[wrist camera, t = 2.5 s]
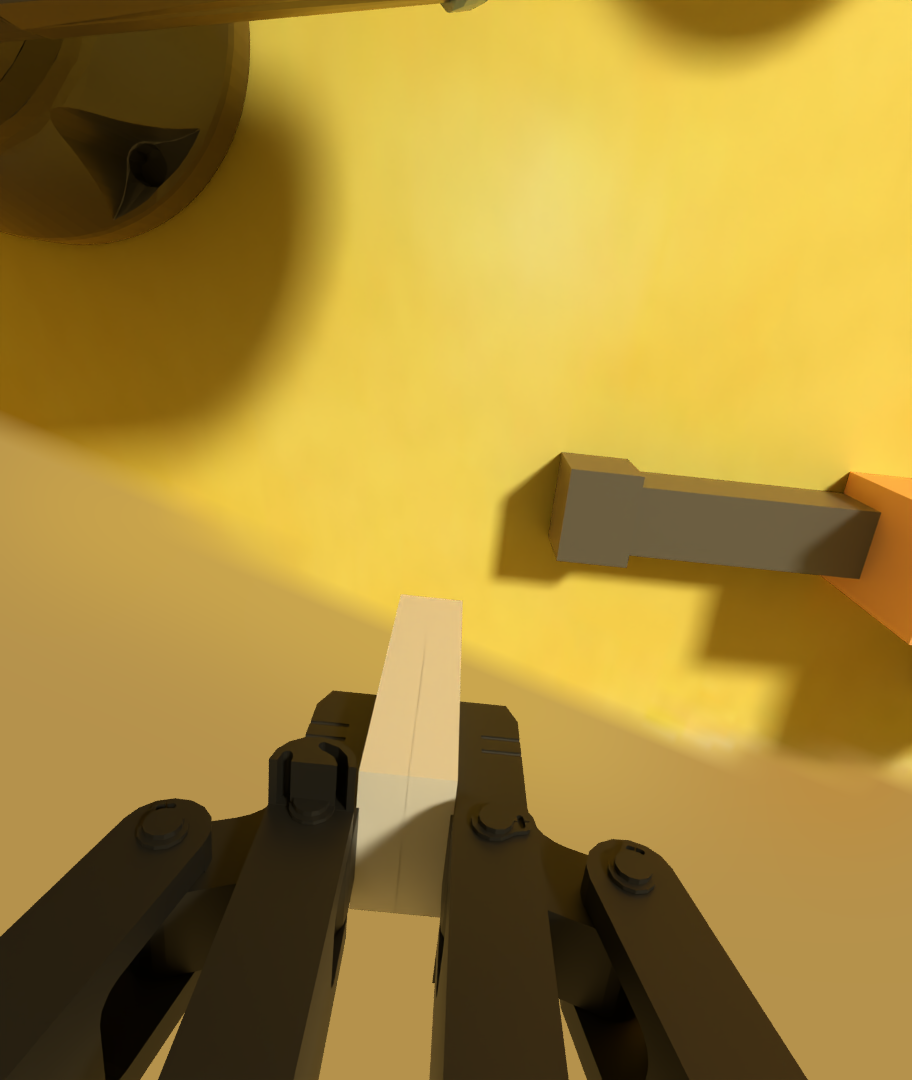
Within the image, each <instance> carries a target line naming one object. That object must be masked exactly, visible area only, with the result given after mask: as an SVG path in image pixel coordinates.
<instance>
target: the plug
mask: <svg viewBox="0 0 912 1080" xmlns="http://www.w3.org/2000/svg"><path fill="white" fill-rule="evenodd" d="M548 536H549V539H550V542H551V545H552V548H553V551H554V554H555V557H556V560H557V561H565V562H575V563H584V564H594V565H604V566H613V567H623V568H627V564H628V559H629V555H630V556H640V557H649V558H659V559H669V560H678V561H688V562H698V563H707V564H717V565H726V566H736V567H746V568H755V569H765V570H775V571H784V572H794V573H803V574H813V575H821V576H822V577H823V578H824V579H826V580H827V581H828V582H829V583H831V584H832V585H833V586H835V587H836V588H837V589H838V590H840V591H841V592H842V593H844V594H845V595H846V596H847V597H849V598H850V599H851V600H852V601H854V602H855V603H856V604H858V605H859V606H860V607H861V608H863V609H864V610H865V611H866V612H868V613H869V614H870V615H872V616H873V617H874V618H875V619H877V620H878V621H879V622H881V623H882V624H883V625H884V626H886V627H887V628H888V629H889V630H891V631H892V632H893V633H895V634H896V635H897V636H898V637H900V638H901V639H902V640H903V641H905V642H906V643H907V644H909V645H912V478H904V477H894V476H885V475H875V474H866V473H857V472H850V474H849V477H848V480H847V483H846V487H845V490H844V493H837V492H828V491H818V490H809V489H799V488H790V487H781V486H771V485H762V484H752V483H743V482H733V481H724V480H714V479H705V478H696V477H686V476H677V475H667V474H658V473H648V472H640V471H639V470H638V469H637V468H636V467H635V466H634V465H633V464H632V463H631V462H630V461H629V460H628V459H620V458H611V457H601V456H592V455H582V454H573V453H564V452H562V453H561V459H560V466H559V472H558V478H557V485H556V491H555V497H554V504H553V510H552V516H551V523H550V529H549V535H548Z"/></svg>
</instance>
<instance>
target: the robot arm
mask: <svg viewBox="0 0 912 1080" xmlns="http://www.w3.org/2000/svg"><path fill="white" fill-rule="evenodd" d="M486 1H487V0H0V231H1V232H4V233H7V234H11V235H15V236H20V237H24V238H30V239H37V240H44V241H51V242H58V243H65V244H78V245H87V244H102V243H110V242H115V241H120V240H124V239H128V238H131V237H134V236H137V235H139V234H142V233H145V232H147V231H149V230H151V229H153V228H155V227H157V226H159V225H161V224H162V223H164V222H166V221H167V220H169V219H170V218H172V217H173V216H175V215H176V214H177V213H179V212H180V211H181V210H182V209H183V208H185V207H186V206H187V205H188V204H189V203H190V202H191V201H192V200H193V199H194V198H195V197H196V196H197V195H198V194H199V193H200V192H201V191H202V189H203V188H204V187H205V186H206V185H207V183H208V182H209V181H210V179H211V178H212V176H213V175H214V174H215V172H216V171H217V169H218V167H219V166H220V164H221V162H222V160H223V159H224V157H225V155H226V153H227V151H228V149H229V147H230V145H231V142H232V140H233V137H234V135H235V132H236V129H237V126H238V123H239V120H240V117H241V113H242V109H243V105H244V101H245V95H246V89H247V83H248V74H249V62H250V31H249V21H255V20H266V19H276V18H287V17H298V16H309V15H319V14H330V13H341V12H352V11H363V10H373V9H384V8H395V7H406V6H416V5H427V4H438V3H440V4H441V5H442V6H443V8H444V9H445V10H446V11H447V12H448V13H452V12H463V11H469V10H472V9H474V8H476V7H477V6H479V5H481V4H483V3H485V2H486ZM461 638H462V601H459V600H450V599H440V598H430V597H420V596H411V595H401V596H400V601H399V605H398V609H397V613H396V617H395V622H394V626H393V630H392V634H391V639H390V643H389V647H388V651H387V655H386V659H385V663H384V668H383V672H382V676H381V680H380V684H379V689H378V693H377V695H371V694H362V693H352V692H342V691H332V692H331V693H330V694H329V695H327V696H326V697H325V698H324V699H323V700H321V701H320V702H319V703H318V704H317V706H316V709H315V711H314V714H313V717H312V720H311V724H310V725H309V727H308V730H307V732H306V737H304V738H301V739H297V740H294V741H290V742H288V743H286V744H285V745H283V746H281V747H279V748H278V749H277V750H276V751H275V752H274V753H273V755H272V756H271V757H270V759H269V797H268V802H269V803H268V806H267V807H266V808H264V809H263V810H260V811H258V812H255V813H253V814H251V815H246V816H242V817H238V818H232V819H225V820H218V821H211V816H210V814H209V813H208V812H207V810H206V809H205V807H203V806H201V805H199V804H197V803H195V802H194V801H191V800H183V799H176V798H175V799H168V800H160V801H155V802H153V803H150V804H148V805H145V806H143V807H140V808H138V809H137V810H135V811H134V812H132V813H131V814H130V815H128V816H127V817H125V818H124V819H123V820H122V821H121V822H120V823H119V824H118V825H117V826H116V827H115V828H114V829H112V830H111V831H110V832H109V833H108V834H107V835H106V836H105V837H104V838H103V839H102V840H101V841H100V842H99V843H98V844H97V845H96V846H95V847H94V848H93V849H92V850H91V851H89V853H88V854H86V855H85V856H84V857H83V858H82V859H81V860H80V861H79V862H78V863H77V864H76V865H75V866H74V867H73V868H72V869H71V870H70V871H69V872H68V873H66V874H65V876H64V877H62V878H61V879H60V881H58V882H57V883H56V884H55V885H54V886H53V887H52V888H51V889H50V890H49V891H48V892H47V893H46V894H45V895H44V896H42V897H41V898H40V899H39V900H38V901H37V902H36V903H35V904H34V905H33V906H32V907H31V908H30V909H29V910H28V911H27V912H26V913H25V914H24V915H23V916H22V917H21V918H20V919H18V920H17V921H16V922H15V923H14V924H13V925H12V926H11V927H10V928H9V929H8V930H7V931H6V932H5V933H4V934H3V935H2V936H1V937H0V1080H140V1079H141V1077H142V1076H143V1074H144V1073H145V1071H146V1070H147V1068H148V1067H149V1065H150V1064H151V1062H152V1061H153V1059H154V1058H155V1056H156V1055H157V1053H158V1052H159V1050H160V1049H161V1047H162V1046H163V1044H164V1043H165V1041H166V1040H167V1038H168V1037H169V1035H170V1034H171V1032H172V1031H173V1029H174V1028H175V1026H176V1025H177V1023H178V1022H179V1020H180V1019H181V1017H182V1015H183V1014H184V1013H185V1014H184V1016H183V1019H182V1021H181V1024H180V1026H179V1029H178V1031H177V1034H176V1036H175V1039H174V1041H173V1044H172V1046H171V1049H170V1051H169V1054H168V1056H167V1059H166V1061H165V1064H164V1066H163V1069H162V1072H161V1074H160V1076H159V1079H158V1080H318V1079H319V1074H320V1068H321V1063H322V1058H323V1053H324V1047H325V1042H326V1037H327V1032H328V1027H329V1022H330V1017H331V1011H332V1006H333V1001H334V995H335V991H336V986H337V980H338V975H339V970H340V964H341V959H342V954H343V949H344V944H345V939H346V923H347V913H348V908H349V903H350V909H358V910H368V911H378V912H390V913H399V914H409V915H420V916H430V917H440V927H439V935H438V942H437V943H438V944H437V951H436V958H435V966H434V975H433V982H432V983H435V991H434V1009H433V1027H432V1045H431V1063H430V1080H568V1072H567V1063H566V1055H565V1047H564V1039H563V1031H562V1023H561V1015H560V1008H559V999H560V1004H561V1009H562V1012H563V1015H564V1017H565V1020H566V1023H567V1026H568V1028H569V1031H570V1034H571V1037H572V1039H573V1042H574V1045H575V1048H576V1050H577V1053H578V1056H579V1059H580V1061H581V1064H582V1067H583V1070H584V1072H585V1075H586V1078H587V1080H808V1079H807V1078H806V1076H805V1075H804V1073H803V1072H802V1070H801V1069H800V1067H799V1065H798V1064H797V1062H796V1061H795V1059H794V1058H793V1056H792V1055H791V1053H790V1051H789V1050H788V1048H787V1047H786V1045H785V1044H784V1042H783V1041H782V1039H781V1037H780V1036H779V1034H778V1033H777V1031H776V1030H775V1028H774V1027H773V1025H772V1023H771V1022H770V1020H769V1019H768V1017H767V1016H766V1014H765V1012H764V1011H763V1010H762V1008H761V1006H760V1005H759V1003H758V1002H757V1000H756V999H755V997H754V995H753V994H752V992H751V991H750V989H749V988H748V986H747V984H746V983H745V981H744V980H743V978H742V977H741V975H740V974H739V972H738V970H737V969H736V967H735V966H734V964H733V963H732V961H731V960H730V958H729V956H728V955H727V953H726V952H725V950H724V949H723V947H722V946H721V944H720V942H719V941H718V939H717V938H716V936H715V935H714V933H713V932H712V930H711V929H710V927H709V926H708V924H707V922H706V921H705V919H704V917H703V916H702V914H701V913H700V911H699V910H698V908H697V907H696V905H695V903H694V902H693V900H692V899H691V897H690V896H689V894H688V893H687V891H686V890H685V888H684V886H683V885H682V883H681V882H680V880H679V879H678V877H677V875H676V874H675V872H674V871H673V869H672V868H671V867H670V866H669V865H668V864H667V862H666V861H665V860H664V859H663V858H662V857H661V856H660V855H658V854H657V853H655V852H654V851H652V850H651V849H649V848H648V847H646V846H643V845H641V844H638V843H635V842H632V841H629V840H615V839H612V840H608V841H605V842H601V843H598V844H597V845H596V846H595V847H594V848H593V849H592V850H590V852H589V855H586V854H583V853H580V852H577V851H575V850H572V849H569V848H566V847H564V846H562V845H559V844H558V843H555V842H554V841H552V840H551V839H549V838H548V837H546V836H545V835H543V834H542V833H541V832H540V831H539V830H538V828H537V827H536V824H535V822H534V819H533V817H532V816H531V815H530V814H529V813H528V809H527V802H526V793H525V784H524V775H523V766H522V757H521V749H520V742H519V731H518V722H517V721H516V719H515V718H514V717H513V716H512V714H511V713H510V712H509V710H508V709H507V707H506V706H499V705H489V704H479V703H468V702H460V675H461V674H460V673H461ZM558 998H559V999H558Z"/></svg>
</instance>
